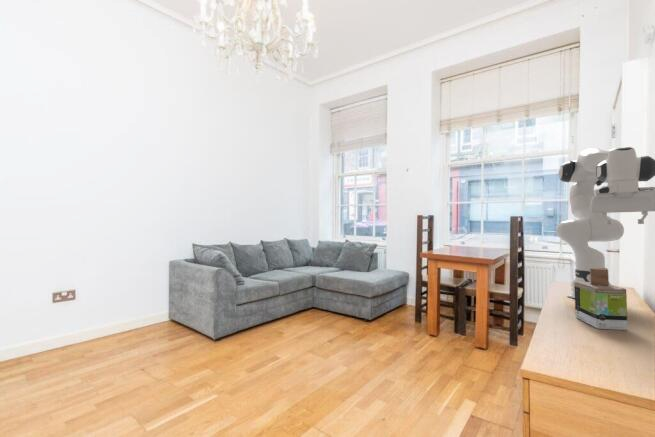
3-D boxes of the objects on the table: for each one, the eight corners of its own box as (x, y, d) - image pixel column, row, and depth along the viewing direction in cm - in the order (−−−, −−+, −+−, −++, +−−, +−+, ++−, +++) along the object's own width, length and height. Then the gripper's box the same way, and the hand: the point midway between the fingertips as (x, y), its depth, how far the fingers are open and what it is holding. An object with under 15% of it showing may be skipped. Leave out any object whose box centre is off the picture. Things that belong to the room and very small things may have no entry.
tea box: (629, 330, 115) (627, 288, 115) (596, 329, 117) (594, 288, 117) (603, 318, 130) (601, 280, 130) (574, 317, 132) (573, 280, 132)
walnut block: (590, 282, 127) (589, 267, 127) (607, 283, 124) (606, 268, 124) (591, 284, 123) (590, 269, 123) (608, 286, 120) (608, 269, 120)
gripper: (658, 186, 124) (659, 223, 124) (589, 191, 136) (590, 224, 135) (662, 185, 119) (664, 223, 118) (590, 190, 130) (591, 224, 130)
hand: (624, 224), depth 127 cm, fingers open, 8 cm apart
